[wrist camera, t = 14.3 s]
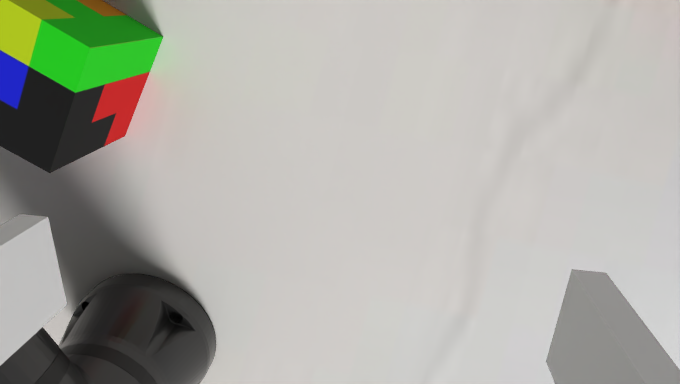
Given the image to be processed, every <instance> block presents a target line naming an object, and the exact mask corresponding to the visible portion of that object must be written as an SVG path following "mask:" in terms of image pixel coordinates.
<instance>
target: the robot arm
mask: <svg viewBox="0 0 680 384" xmlns="http://www.w3.org/2000/svg"><path fill="white" fill-rule="evenodd" d="M66 305H67V301H66V297H65V292H64V288H63V283H62V278H61V274H60V269H59V265H58V260H57V255H56V251H55V246H54V242H53V237H52V233H51V228H50V223H49V219H48V217H45V216H35V215H25V214H20V215H18V216H16V217H15V218H13V219H11V220H9V221H7V222H6V223H4V224H2V225H0V384H200V382H201V381H202V380H203V378H204V377H205V375H206V373H207V371H208V369H209V367H210V365H211V363H212V361H213V359H214V356H215V351H216V338H215V333H214V329H213V327H212V324H211V322H210V320H209V318H208V316H207V315H206V313H205V312H204V310H203V309H202V308H201V306H200V305H199V304H198V303H197V302H196V301H195V300H194V299H193V298H192V297H191V296H189V295H188V294H187V293H186V292H184V291H183V290H181V289H180V288H178V287H177V286H175V285H173V284H171V283H169V282H167V281H164V280H162V279H159V278H156V277H152V276H147V275H141V274H125V275H119V276H115V277H111V278H109V279H107V280H105V281H103V282H101V283H100V284H99V285H97V286H96V287H95V288H94V289H93V290H92V291H91V292H90V293H89V294H88V295H87V296H86V297H84V298H83V300H82V301H81V302H80V303H79V305H78V306H77V308H76V309H75V311H74V314H73V316H72V318H71V320H70V322H69V324H68V326H67V329H66V331H65V333H64V335H63V337H62V340H61V342H60V344H59V346H58V345H57V344H56V343H55V341H54V340H53V339H52V338H51V337H50V335H49V334H48V333H47V332H46V331H45V330H44V328H43V326H44V325H45V324H46V323H48V322H49V321H50V320H51V319H52V318H53V317H54V316H55V315H56V314H57V313H58V312H60V311H61V310H62V309H63V308H64V307H65V306H66ZM546 362H547V365H548V367H549V370H550V372H551V375H552V377H553V379H554V382H555V384H680V370H679V368H678V367H677V366H676V364H675V363H674V362H673V360H672V359H671V358H670V357H669V355H668V354H667V353H666V351H665V350H664V349H663V347H662V346H661V345H660V343H659V342H658V341H657V339H656V338H655V337H654V335H653V334H652V333H651V331H650V330H649V329H648V328H647V326H646V325H645V324H644V322H643V321H642V320H641V318H640V317H639V316H638V314H637V313H636V312H635V310H634V309H633V308H632V306H631V305H630V304H629V302H628V301H627V300H626V299H625V297H624V296H623V295H622V293H621V292H620V291H619V289H618V288H617V287H616V285H615V284H614V283H613V281H612V280H611V279H610V277H609V276H608V275H607V273H603V272H593V271H583V270H573V269H572V271H571V274H570V278H569V281H568V285H567V289H566V292H565V296H564V299H563V303H562V306H561V310H560V314H559V317H558V321H557V324H556V328H555V331H554V335H553V338H552V342H551V346H550V349H549V353H548V356H547V360H546Z"/></svg>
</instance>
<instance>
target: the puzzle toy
mask: <svg viewBox="0 0 680 384" xmlns="http://www.w3.org/2000/svg"><path fill="white" fill-rule="evenodd" d="M162 39H163V36H161V35H159V34H158V33H156V32H154V31H153V30H151V29H149V28H148V27H146V26H144V25H143V24H141V23H139V22H138V21H136V20H134V19H133V18H131V17H129V16H127V15H126V14H124V13H122V12H121V11H119V10H117V9H116V8H114V7H112V6H111V5H109V4H107V3H106V2H104V1H102V0H0V146H1V147H3V148H5V149H7V150H9V151H11V152H12V153H14V154H16V155H18V156H20V157H22V158H23V159H25V160H27V161H29V162H31V163H32V164H34V165H36V166H38V167H40V168H42V169H43V170H45V171H47V172H49V173H51V172H53V171H55V170H57V169H59V168H61V167H63V166H65V165H67V164H69V163H71V162H73V161H75V160H77V159H79V158H81V157H83V156H85V155H87V154H89V153H91V152H93V151H95V150H97V149H99V148H101V147H103V146H106V145H108V144H110V143H112V142H114V141H116V140H118V139H120V138H122V137H124V136H125V135H126V132H127V129H128V127H129V124H130V122H131V119H132V116H133V114H134V111H135V109H136V106H137V103H138V101H139V98H140V96H141V93H142V90H143V88H144V85H145V83H146V80H147V77H148V75H149V72H150V70H151V67H152V64H153V62H154V59H155V57H156V54H157V52H158V49H159V46H160V44H161V41H162Z"/></svg>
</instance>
